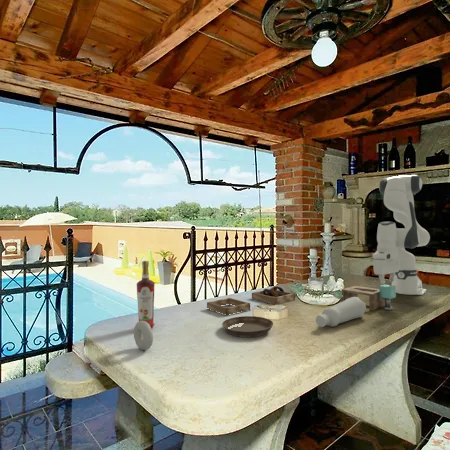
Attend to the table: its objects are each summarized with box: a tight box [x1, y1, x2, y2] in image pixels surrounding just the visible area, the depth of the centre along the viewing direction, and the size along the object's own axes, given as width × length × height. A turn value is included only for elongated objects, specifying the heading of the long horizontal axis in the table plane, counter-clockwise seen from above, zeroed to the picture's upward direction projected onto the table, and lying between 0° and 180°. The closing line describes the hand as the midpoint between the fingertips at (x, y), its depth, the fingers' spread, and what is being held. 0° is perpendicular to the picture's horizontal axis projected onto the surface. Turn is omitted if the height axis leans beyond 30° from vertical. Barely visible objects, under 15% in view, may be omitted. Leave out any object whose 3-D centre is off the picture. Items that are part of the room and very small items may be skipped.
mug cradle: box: [251, 289, 296, 305], centre depth 183 cm, size 16×18×4 cm
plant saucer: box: [221, 315, 274, 338], centre depth 130 cm, size 21×21×3 cm
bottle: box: [315, 296, 367, 328], centre depth 139 cm, size 9×9×30 cm
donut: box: [133, 320, 154, 351], centre depth 111 cm, size 10×4×10 cm, turn 43°
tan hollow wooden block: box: [341, 285, 385, 311], centre depth 167 cm, size 14×16×8 cm
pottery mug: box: [262, 285, 285, 297], centre depth 183 cm, size 12×10×8 cm
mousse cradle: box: [206, 297, 251, 316], centre depth 162 cm, size 15×16×4 cm
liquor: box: [136, 260, 155, 329], centre depth 135 cm, size 7×7×28 cm
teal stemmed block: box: [378, 283, 397, 311], centre depth 159 cm, size 5×5×12 cm
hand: (387, 282), depth 158 cm, fingers open, 8 cm apart
